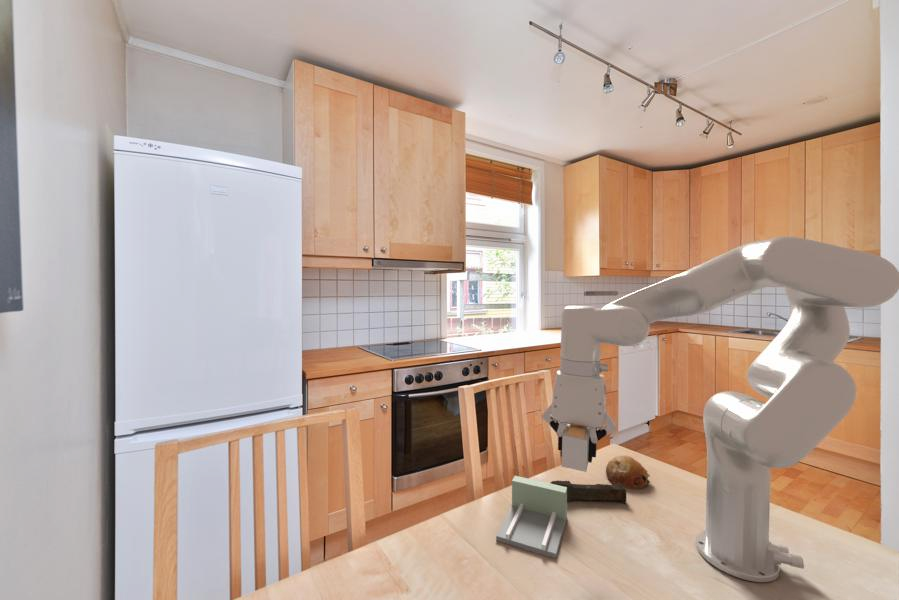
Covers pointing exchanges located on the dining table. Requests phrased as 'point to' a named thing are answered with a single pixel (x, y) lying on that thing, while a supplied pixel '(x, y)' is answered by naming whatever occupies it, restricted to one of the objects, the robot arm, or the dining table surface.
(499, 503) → the dining table surface
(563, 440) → the holder
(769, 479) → the robot arm
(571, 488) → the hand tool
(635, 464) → the bread roll
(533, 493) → the chute mount
